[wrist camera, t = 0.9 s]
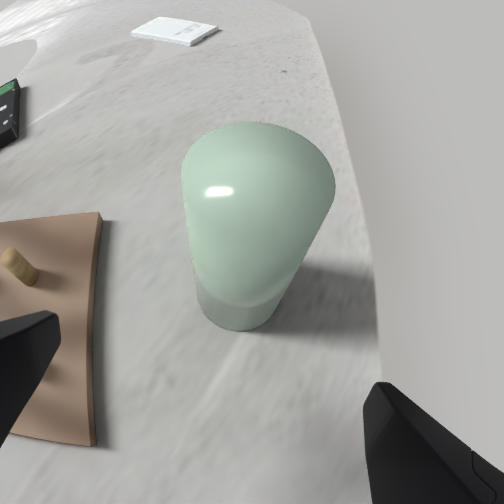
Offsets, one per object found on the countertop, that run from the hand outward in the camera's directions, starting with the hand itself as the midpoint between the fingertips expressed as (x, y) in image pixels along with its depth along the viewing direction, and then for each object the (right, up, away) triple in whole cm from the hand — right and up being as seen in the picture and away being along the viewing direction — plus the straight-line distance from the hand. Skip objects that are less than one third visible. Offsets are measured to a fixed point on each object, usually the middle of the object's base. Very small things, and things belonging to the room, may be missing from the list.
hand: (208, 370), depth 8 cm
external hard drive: (-12, +39, +36) cm, 54 cm away
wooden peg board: (-19, -3, +12) cm, 23 cm away
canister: (0, 0, +16) cm, 16 cm away
